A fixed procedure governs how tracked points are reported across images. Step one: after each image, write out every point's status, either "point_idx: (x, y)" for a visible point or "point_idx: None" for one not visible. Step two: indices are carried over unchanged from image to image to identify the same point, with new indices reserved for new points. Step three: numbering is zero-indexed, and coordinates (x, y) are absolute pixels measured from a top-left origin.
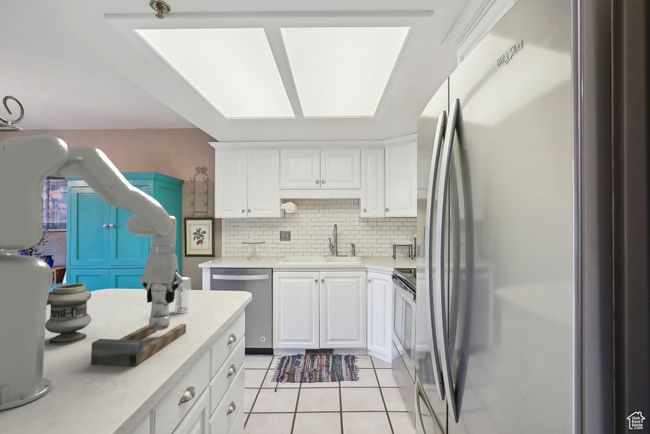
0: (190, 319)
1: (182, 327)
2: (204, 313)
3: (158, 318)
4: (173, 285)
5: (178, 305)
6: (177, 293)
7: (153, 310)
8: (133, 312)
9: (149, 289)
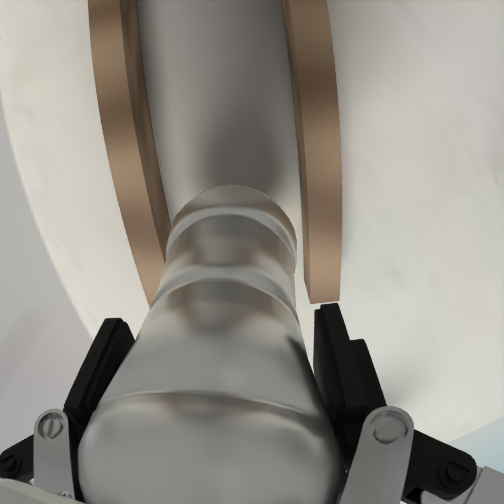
0: None
1: (143, 282)
2: None
3: (194, 218)
4: None
5: None
6: None
7: (238, 245)
8: (468, 391)
9: (360, 434)
